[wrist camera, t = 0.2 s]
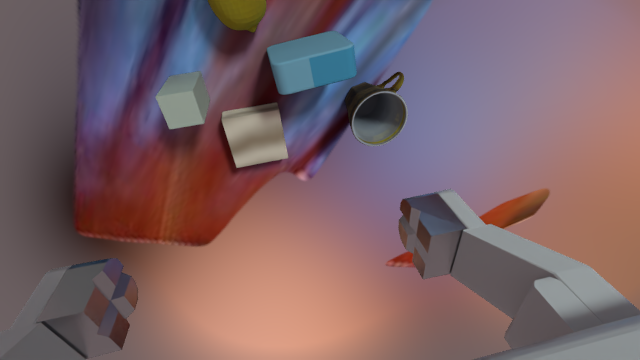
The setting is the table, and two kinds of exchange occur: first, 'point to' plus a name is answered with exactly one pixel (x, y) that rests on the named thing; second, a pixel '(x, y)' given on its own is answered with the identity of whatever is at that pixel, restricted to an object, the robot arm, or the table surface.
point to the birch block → (255, 134)
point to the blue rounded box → (312, 62)
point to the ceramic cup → (376, 111)
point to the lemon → (239, 13)
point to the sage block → (184, 100)
